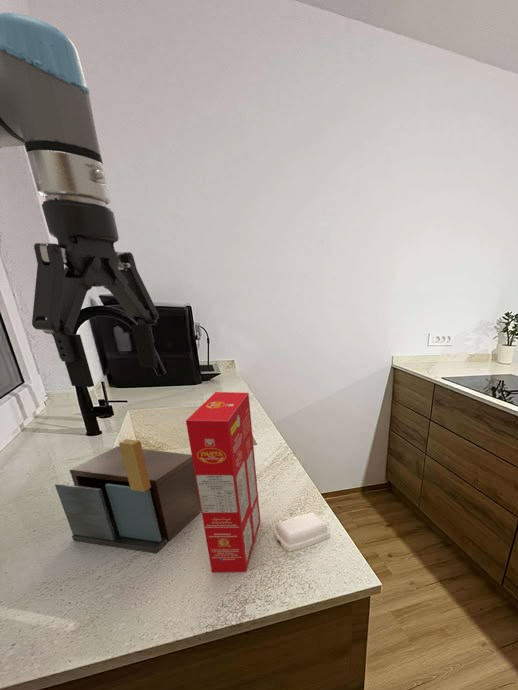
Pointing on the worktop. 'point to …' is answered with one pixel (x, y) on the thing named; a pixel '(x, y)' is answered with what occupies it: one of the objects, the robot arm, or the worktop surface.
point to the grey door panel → (134, 497)
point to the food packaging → (226, 478)
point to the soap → (301, 531)
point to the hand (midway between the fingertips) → (119, 376)
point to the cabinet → (108, 468)
